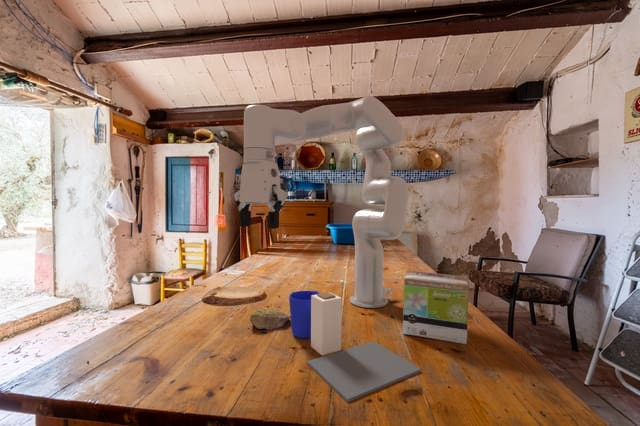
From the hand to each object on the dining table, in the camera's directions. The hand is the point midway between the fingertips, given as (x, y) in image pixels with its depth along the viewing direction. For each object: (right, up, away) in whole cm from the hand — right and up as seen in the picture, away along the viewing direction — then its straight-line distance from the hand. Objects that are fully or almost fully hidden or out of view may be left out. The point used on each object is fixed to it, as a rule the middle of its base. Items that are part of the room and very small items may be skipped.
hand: (259, 227), depth 74 cm
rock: (+2, -28, +9) cm, 29 cm away
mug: (+12, -27, +4) cm, 30 cm away
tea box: (+45, -28, +4) cm, 53 cm away
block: (+16, -28, -6) cm, 33 cm away
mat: (+24, -28, -14) cm, 39 cm away
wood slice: (-15, -27, +31) cm, 44 cm away
